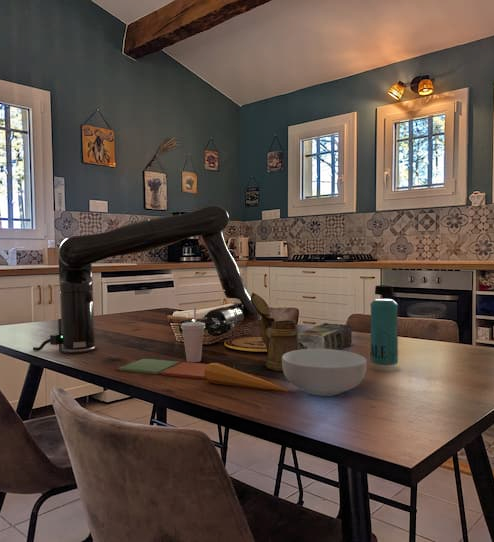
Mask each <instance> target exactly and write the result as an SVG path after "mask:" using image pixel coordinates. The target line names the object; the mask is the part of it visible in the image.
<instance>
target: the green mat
mask: <svg viewBox="0 0 494 542" xmlns="http://www.w3.org/2000/svg"><path fill="white" fill-rule="evenodd" d="M180 363H181V361H176V360H166V359H155V358H154V359H153V358H141V359H139V360H136V361H133V362H131V363H128V364H125V365H122V366H120V367H118V368H117V369H118V371H121V372H129V373H130V372H132V373H141V374H151V375H158V374H161V372H162V371H165V370H167V369H169V368H171V367H174V366H176V365H178V364H180Z"/></svg>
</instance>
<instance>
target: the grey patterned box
mask: <svg viewBox="0 0 494 542" xmlns="http://www.w3.org/2000/svg"><path fill="white" fill-rule="evenodd" d="M352 329H353V326H352V325H350V324H341V323H339V324H338V323H329V322H324V323H322V324H319V325H315V326H312V327H309V328H307V329H303V330H299V331H298V332H299V333H298V341H299V347H300V350H301V349H333V350H341V349H343V348H346V347H348V346H351V345H352V343H353V340H352V338H353V337H352V336H353V334H352V332H353V330H352Z"/></svg>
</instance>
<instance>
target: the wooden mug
mask: <svg viewBox="0 0 494 542" xmlns="http://www.w3.org/2000/svg"><path fill="white" fill-rule="evenodd" d="M250 296H251V303H252V305H253V307H254V309H255V310H256V312H257V313H258V314H259V317H261V319H260V322H259V325H258V326H259V328H258V330H259V336H260V337H261V340H262V342H263V344H264V346H265V348H266V352H267V357H266V358H265V368H267V369H269V370H272V371H278V372H283V368H282V356H283V355H284V354H285V353H287V352H290V351H295V350H300V347H299V341H298V333H299V332H300V331H299V328H298V327H297V321H296V320H294V319H293V320H292V319H283V320H275V318H274V317H271V315H270V311H271V310H270V307H269V305H268V303H267V302H266V301H265V299H264V298H262V297H261V296H260V295H259V294H257V293H255V292H252V293H251V294H250ZM268 328H269V329H268ZM267 329H268V334H269V335H268V334H267Z"/></svg>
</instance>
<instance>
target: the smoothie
mask: <svg viewBox="0 0 494 542" xmlns="http://www.w3.org/2000/svg"><path fill="white" fill-rule="evenodd" d="M193 319H194V322H188V323H183V324H181V323H180V324H181V328H182V330H183V333H182V337H183V343H184V351H185V359H186V362H189V363H199V362H201V361H202V354H203V345H204V334H205V332H204V328H205V323H202V322H196V319H197V307H196V306H194V307H193Z"/></svg>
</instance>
